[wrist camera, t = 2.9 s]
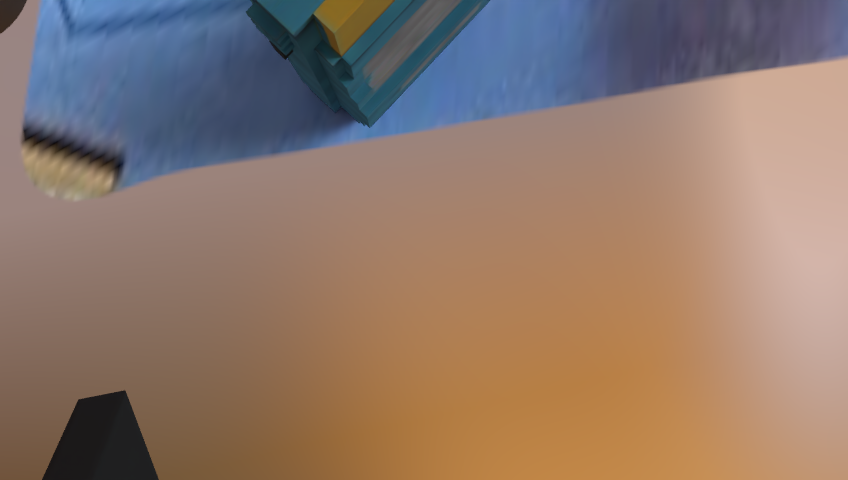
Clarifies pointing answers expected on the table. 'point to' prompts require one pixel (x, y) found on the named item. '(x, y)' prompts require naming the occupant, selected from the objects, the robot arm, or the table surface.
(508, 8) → the table surface
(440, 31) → the handheld gaming console
